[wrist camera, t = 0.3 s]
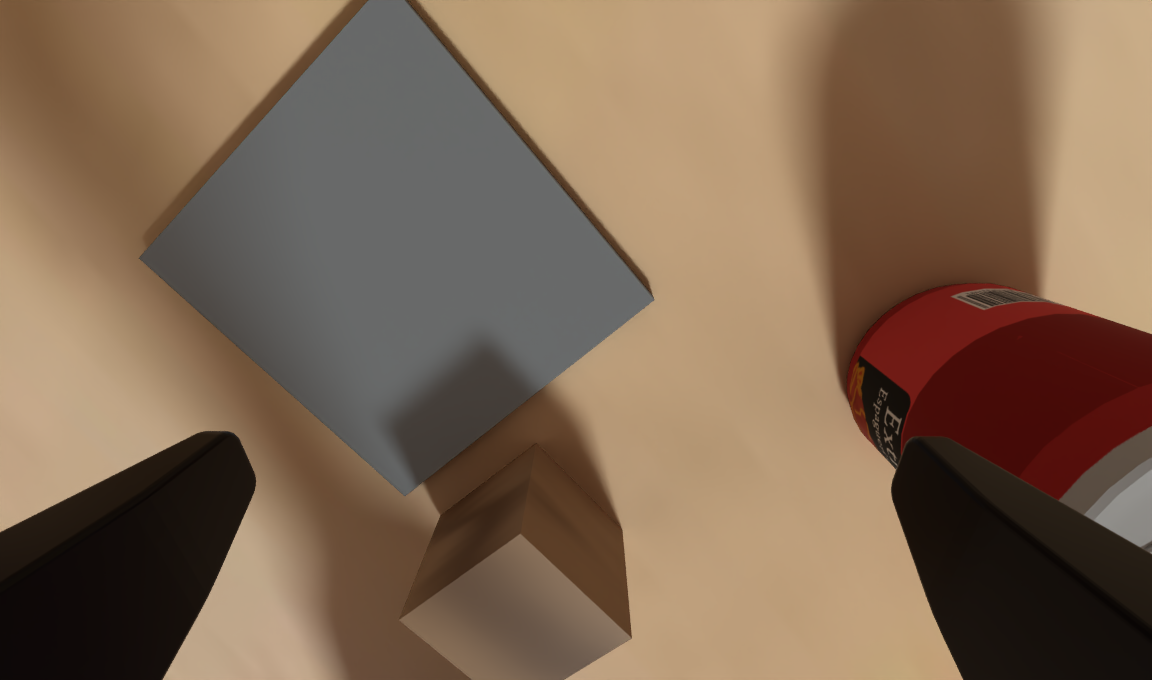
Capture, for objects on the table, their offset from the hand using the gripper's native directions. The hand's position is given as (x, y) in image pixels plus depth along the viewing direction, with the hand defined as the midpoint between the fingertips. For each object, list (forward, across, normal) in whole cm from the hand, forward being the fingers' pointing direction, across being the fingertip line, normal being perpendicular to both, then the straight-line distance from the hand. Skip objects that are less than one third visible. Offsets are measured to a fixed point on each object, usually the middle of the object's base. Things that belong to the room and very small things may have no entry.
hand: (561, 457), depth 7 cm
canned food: (+14, -14, +8) cm, 21 cm away
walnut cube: (+12, +3, +15) cm, 19 cm away
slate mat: (+14, +8, +3) cm, 16 cm away
